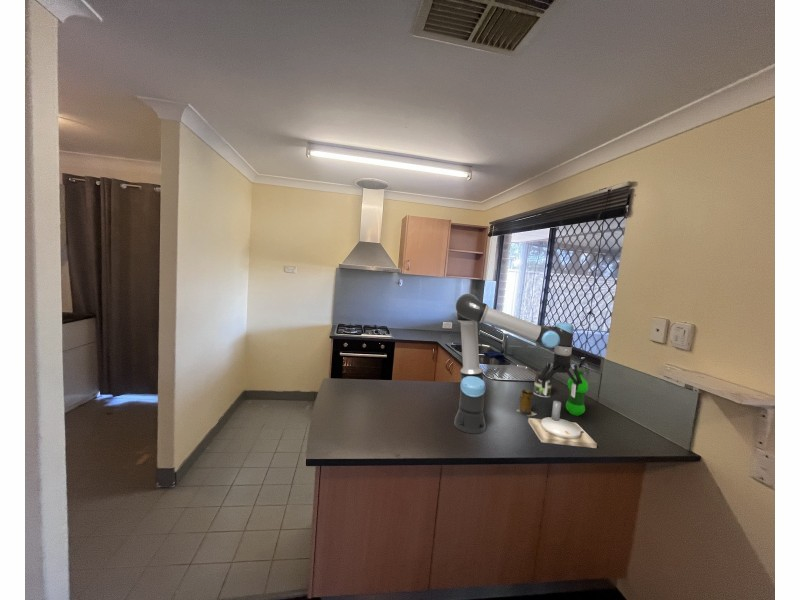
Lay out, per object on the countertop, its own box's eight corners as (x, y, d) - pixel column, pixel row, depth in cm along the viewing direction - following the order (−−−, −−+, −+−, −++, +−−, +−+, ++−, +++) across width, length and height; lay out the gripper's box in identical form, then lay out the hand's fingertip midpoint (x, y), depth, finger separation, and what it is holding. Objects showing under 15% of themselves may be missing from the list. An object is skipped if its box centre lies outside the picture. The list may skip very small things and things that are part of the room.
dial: (548, 436, 144) (551, 413, 143) (536, 419, 161) (538, 398, 160) (587, 440, 142) (590, 417, 141) (570, 422, 159) (573, 402, 158)
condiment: (524, 408, 179) (526, 388, 178) (537, 414, 172) (539, 393, 171) (515, 410, 176) (517, 389, 175) (528, 416, 168) (530, 395, 167)
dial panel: (541, 442, 143) (542, 437, 143) (528, 421, 163) (528, 417, 162) (596, 448, 141) (597, 443, 140) (576, 426, 160) (576, 422, 160)
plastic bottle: (564, 414, 174) (569, 371, 171) (564, 407, 183) (569, 366, 181) (585, 419, 169) (590, 374, 167) (584, 412, 178) (589, 369, 176)
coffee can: (551, 398, 196) (554, 376, 195) (534, 395, 199) (536, 374, 198) (549, 392, 206) (551, 372, 205) (532, 390, 209) (534, 369, 208)
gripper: (539, 354, 152) (535, 396, 154) (592, 357, 150) (588, 400, 151) (534, 350, 159) (530, 390, 161) (585, 353, 157) (581, 394, 159)
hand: (558, 395), depth 156 cm, fingers open, 13 cm apart
